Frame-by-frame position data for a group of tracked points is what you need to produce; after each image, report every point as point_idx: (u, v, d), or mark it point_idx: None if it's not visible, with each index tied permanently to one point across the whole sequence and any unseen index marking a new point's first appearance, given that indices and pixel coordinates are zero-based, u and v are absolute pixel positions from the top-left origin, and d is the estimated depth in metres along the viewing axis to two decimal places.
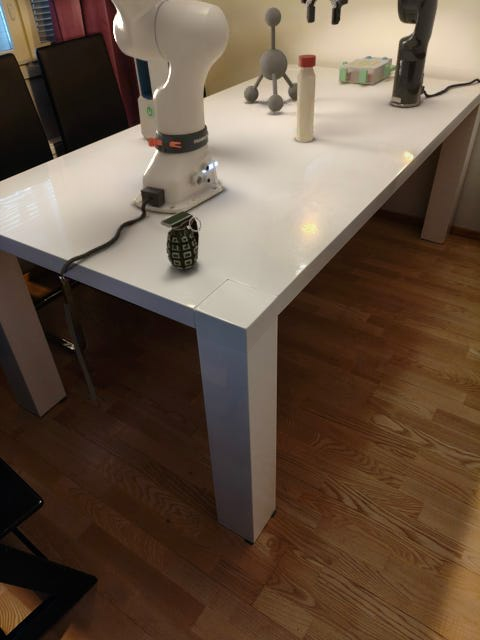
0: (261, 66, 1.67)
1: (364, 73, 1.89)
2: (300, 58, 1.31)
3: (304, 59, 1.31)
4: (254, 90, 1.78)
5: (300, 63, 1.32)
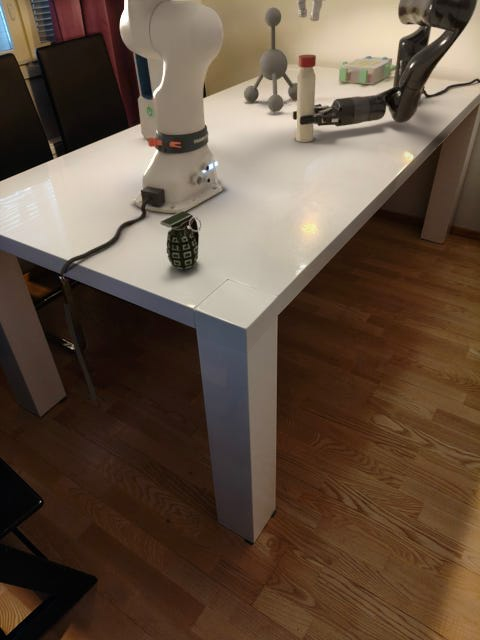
0: (261, 66, 1.67)
1: (364, 73, 1.89)
2: (300, 58, 1.31)
3: (304, 59, 1.31)
4: (254, 90, 1.78)
5: (300, 63, 1.32)
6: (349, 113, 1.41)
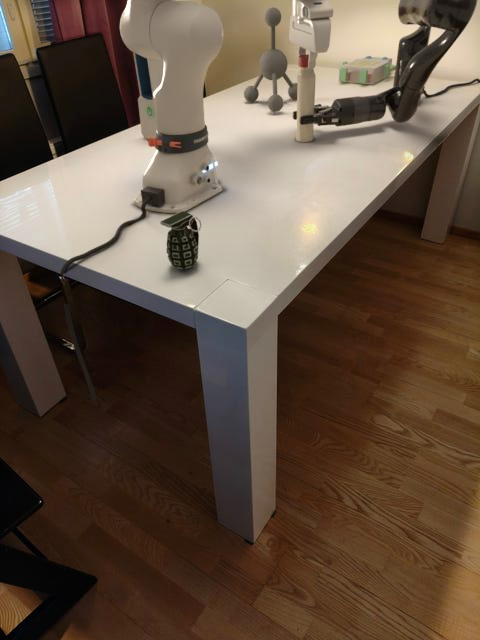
0: (261, 66, 1.67)
1: (364, 73, 1.89)
2: (300, 58, 1.31)
3: (304, 59, 1.31)
4: (254, 90, 1.78)
5: (300, 63, 1.32)
6: (349, 113, 1.41)
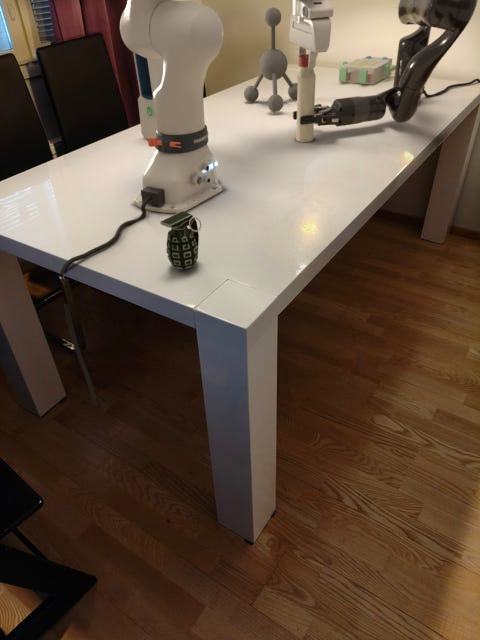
0: (261, 66, 1.67)
1: (364, 73, 1.89)
2: None
3: None
4: (254, 90, 1.78)
5: None
6: (349, 113, 1.41)
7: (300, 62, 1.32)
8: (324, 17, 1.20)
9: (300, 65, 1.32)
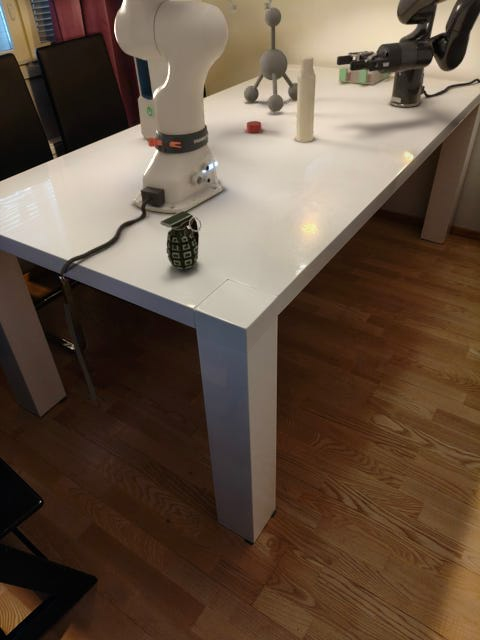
0: (261, 66, 1.67)
1: (364, 73, 1.89)
2: (260, 124, 1.52)
3: None
4: (254, 90, 1.78)
5: (260, 128, 1.53)
6: (396, 58, 1.35)
7: (251, 129, 1.52)
8: None
9: (251, 132, 1.53)
